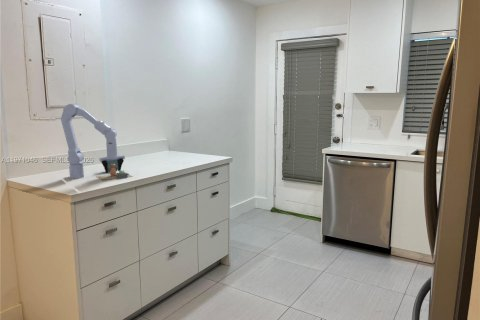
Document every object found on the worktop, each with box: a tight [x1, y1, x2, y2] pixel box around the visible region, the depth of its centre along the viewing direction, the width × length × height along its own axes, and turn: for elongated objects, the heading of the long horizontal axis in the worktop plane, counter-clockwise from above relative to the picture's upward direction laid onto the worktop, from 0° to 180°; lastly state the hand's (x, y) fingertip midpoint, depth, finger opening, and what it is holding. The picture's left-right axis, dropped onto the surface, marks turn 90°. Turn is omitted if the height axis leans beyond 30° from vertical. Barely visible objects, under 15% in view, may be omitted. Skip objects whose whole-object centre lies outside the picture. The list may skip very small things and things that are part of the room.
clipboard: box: [95, 172, 134, 182], centre depth 217 cm, size 14×18×1 cm
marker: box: [109, 164, 117, 176], centre depth 218 cm, size 3×3×7 cm
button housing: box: [116, 171, 129, 180], centre depth 215 cm, size 5×5×2 cm
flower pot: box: [107, 160, 118, 173], centre depth 235 cm, size 9×9×9 cm
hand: (113, 171), depth 218 cm, fingers open, 7 cm apart
